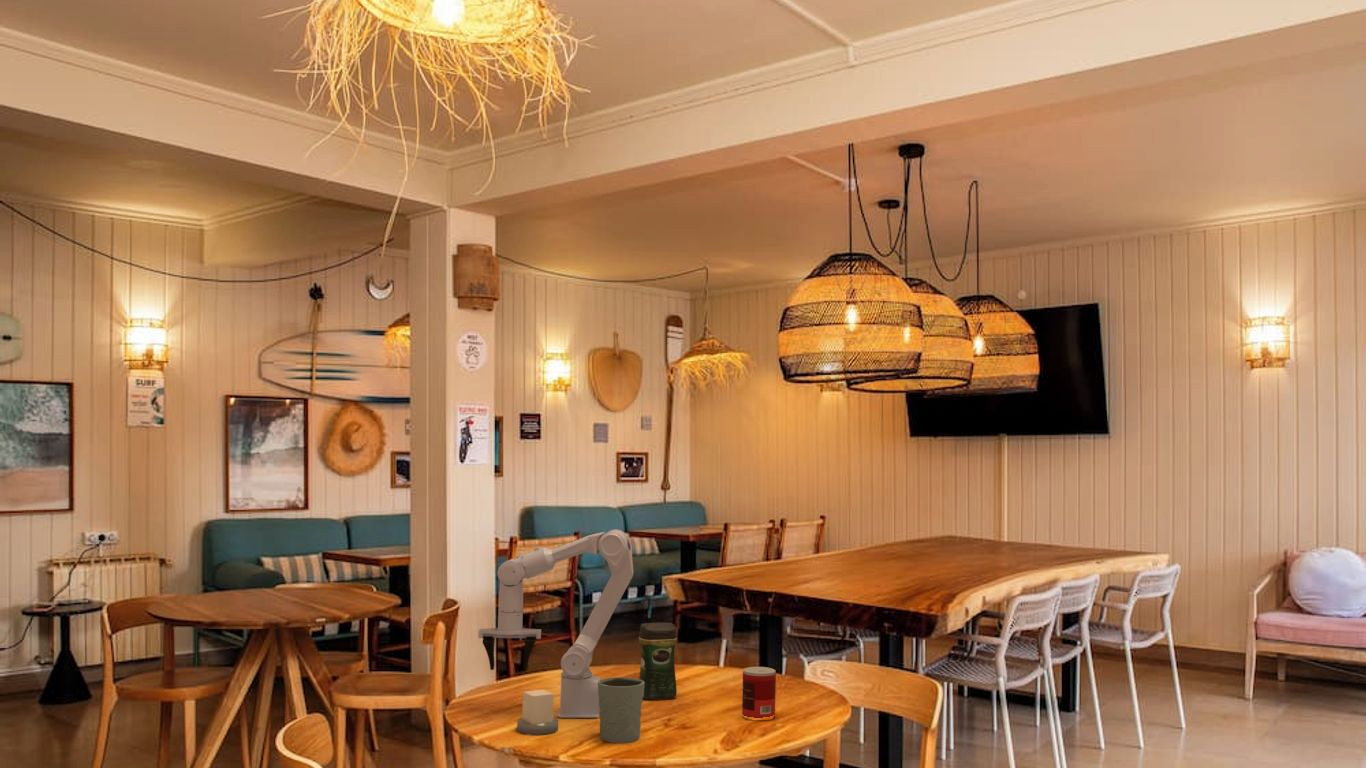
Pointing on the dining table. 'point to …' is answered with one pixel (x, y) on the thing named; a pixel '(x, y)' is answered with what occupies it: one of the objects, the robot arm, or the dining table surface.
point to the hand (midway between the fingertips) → (508, 669)
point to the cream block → (537, 706)
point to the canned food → (758, 692)
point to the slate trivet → (537, 727)
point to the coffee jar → (658, 660)
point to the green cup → (620, 709)
